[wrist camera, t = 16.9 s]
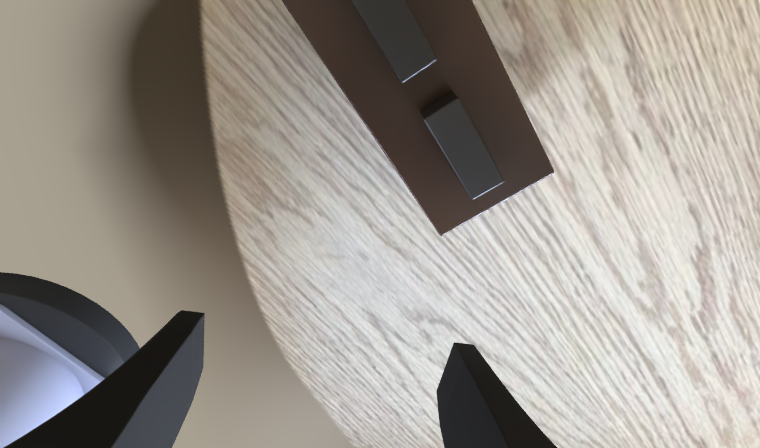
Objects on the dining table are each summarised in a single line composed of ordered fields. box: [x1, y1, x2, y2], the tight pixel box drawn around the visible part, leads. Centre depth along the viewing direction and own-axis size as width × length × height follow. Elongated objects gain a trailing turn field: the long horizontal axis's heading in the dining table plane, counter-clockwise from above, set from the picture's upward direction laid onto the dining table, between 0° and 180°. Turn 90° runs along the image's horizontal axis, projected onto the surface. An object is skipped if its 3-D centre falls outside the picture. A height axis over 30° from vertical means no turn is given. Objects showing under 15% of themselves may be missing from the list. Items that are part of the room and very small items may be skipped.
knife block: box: [282, 0, 554, 236], centre depth 16 cm, size 4×10×7 cm, turn 33°
